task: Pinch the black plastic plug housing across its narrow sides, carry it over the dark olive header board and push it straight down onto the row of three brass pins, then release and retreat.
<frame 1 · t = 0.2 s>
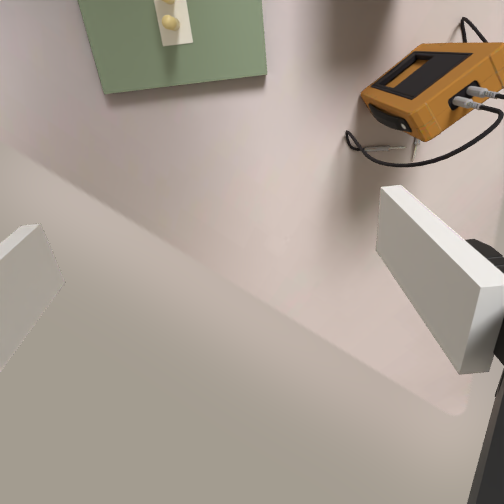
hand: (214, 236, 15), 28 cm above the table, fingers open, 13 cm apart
multimeter: (411, 108, 39), on the table
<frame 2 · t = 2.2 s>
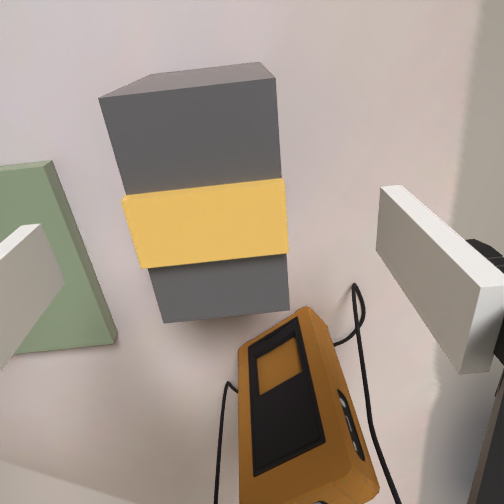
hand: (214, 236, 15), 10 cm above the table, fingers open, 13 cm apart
plug housing: (218, 158, 23), on the table
multimeter: (306, 355, 32), on the table
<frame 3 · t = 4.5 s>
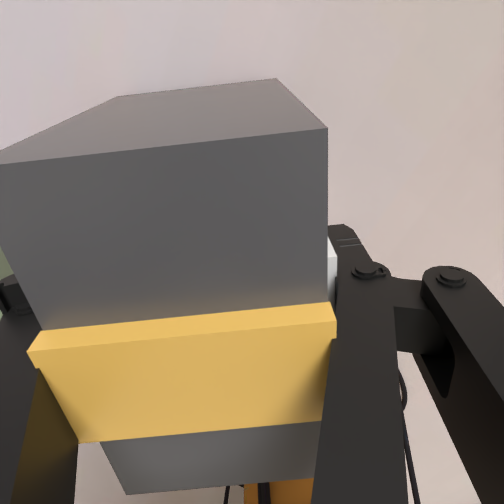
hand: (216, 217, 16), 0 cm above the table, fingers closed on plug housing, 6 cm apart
plug housing: (216, 210, 16), on the table, touching gripper
multimeter: (328, 445, 25), on the table
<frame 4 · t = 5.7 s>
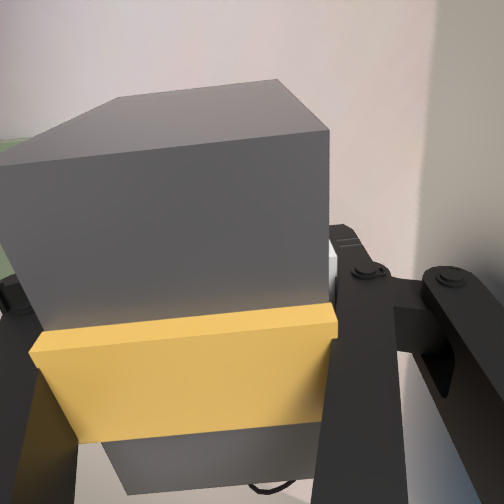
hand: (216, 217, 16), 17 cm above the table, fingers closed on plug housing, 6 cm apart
plug housing: (217, 210, 16), point 16 cm above the table, touching gripper
header board: (54, 216, 34), on the table
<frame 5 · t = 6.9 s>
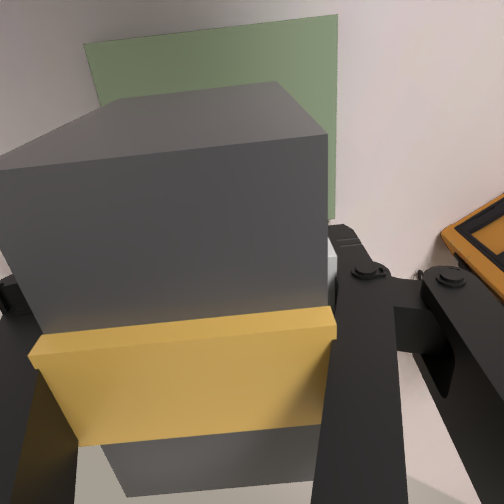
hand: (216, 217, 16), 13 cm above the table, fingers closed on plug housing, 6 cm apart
plug housing: (216, 212, 16), point 13 cm above the table, touching gripper
header board: (225, 138, 27), on the table
multimeter: (496, 244, 33), on the table
when the fingers open (2 cm above the table, at t = 9.3 s): plug housing stays where it is, resting on header board.
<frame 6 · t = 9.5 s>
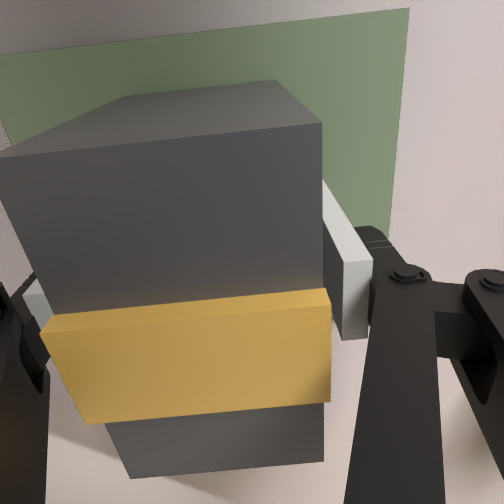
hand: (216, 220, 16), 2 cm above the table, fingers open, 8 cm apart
plug housing: (217, 207, 17), point 1 cm above the table, touching header board
header board: (218, 200, 18), on the table
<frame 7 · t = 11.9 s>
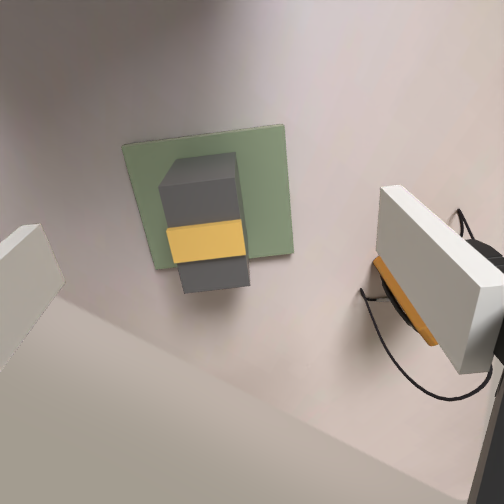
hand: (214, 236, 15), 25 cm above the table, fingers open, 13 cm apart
plug housing: (214, 203, 39), point 1 cm above the table, touching header board
header board: (214, 200, 40), on the table
multimeter: (416, 268, 45), on the table
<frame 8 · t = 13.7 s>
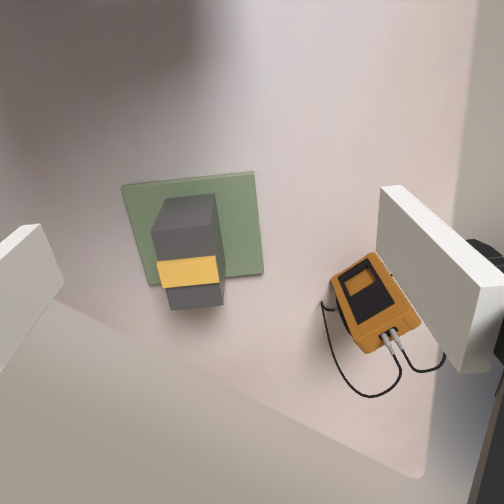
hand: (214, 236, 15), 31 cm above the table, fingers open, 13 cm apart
plug housing: (197, 232, 47), point 1 cm above the table, touching header board
header board: (198, 229, 48), on the table
multimeter: (368, 285, 54), on the table
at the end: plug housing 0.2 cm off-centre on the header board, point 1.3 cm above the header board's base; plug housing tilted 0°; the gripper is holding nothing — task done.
